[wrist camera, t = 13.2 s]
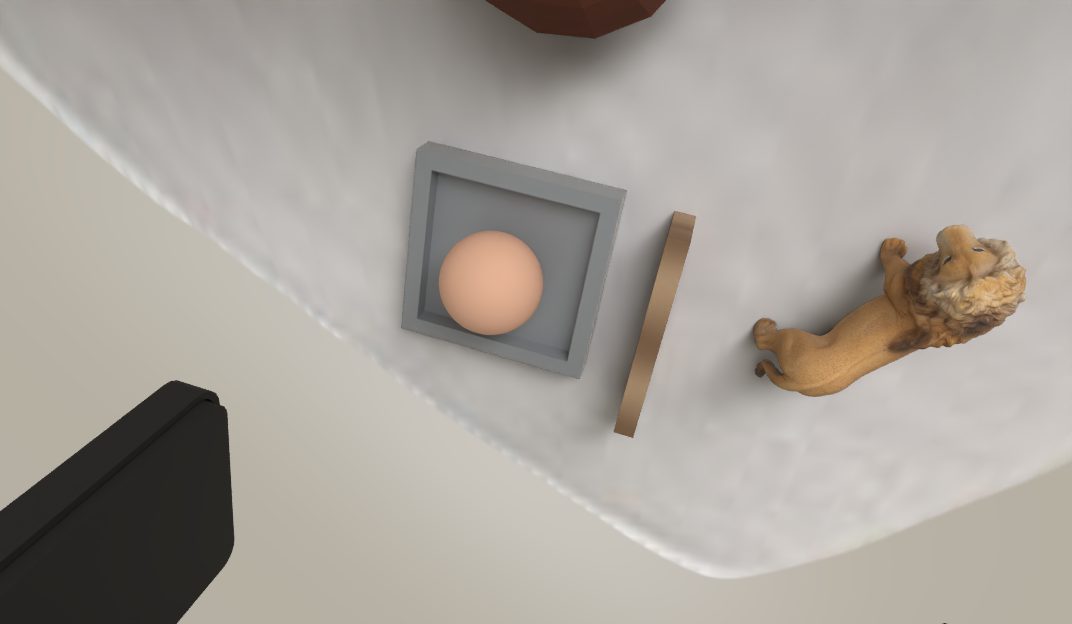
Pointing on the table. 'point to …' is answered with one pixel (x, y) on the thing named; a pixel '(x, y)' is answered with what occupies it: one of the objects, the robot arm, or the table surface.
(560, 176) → the slate dish
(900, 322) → the lion figurine
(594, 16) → the muffin
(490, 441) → the table surface
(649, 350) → the walnut wall
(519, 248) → the ball
